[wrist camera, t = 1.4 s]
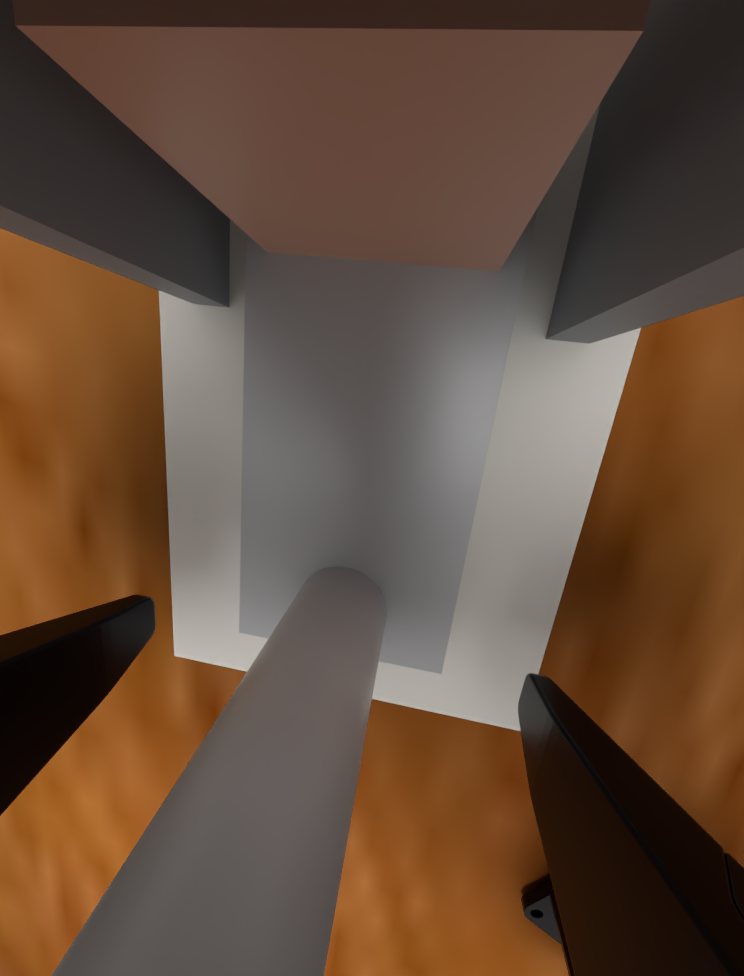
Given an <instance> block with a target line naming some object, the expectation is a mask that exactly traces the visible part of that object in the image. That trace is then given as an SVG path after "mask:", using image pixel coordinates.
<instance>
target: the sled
mask: <svg viewBox="0 0 744 976" xmlns="http://www.w3.org/2000/svg"><path fill="white" fill-rule="evenodd" d="M650 2H651V0H12V3H13V11H14V20H15V26H16V27H17V28H18V29H20V30H21V31H22V32H23V33H24V34H25V35H26V36H27V37H28V38H30V39H31V40H32V41H33V42H34V43H35V44H36V45H37V46H38V47H40V48H41V49H42V50H43V51H44V52H45V53H46V54H47V55H48V56H50V57H51V58H52V59H53V60H54V61H55V62H56V63H57V64H58V65H60V66H61V67H62V68H63V69H64V70H65V71H66V72H67V73H68V74H70V75H71V76H72V77H73V78H74V79H75V80H76V81H77V82H78V83H80V84H81V85H82V86H83V87H84V88H85V89H86V90H87V91H88V92H90V93H91V94H92V95H93V96H94V97H95V98H96V99H97V100H98V101H100V102H101V103H102V104H103V105H104V106H105V107H106V108H107V109H108V110H110V111H111V112H112V113H113V114H114V115H115V116H116V117H117V118H118V119H120V120H121V121H122V122H123V123H124V124H125V125H126V126H127V127H128V128H129V129H131V130H132V131H133V132H134V133H135V134H136V135H137V136H138V137H139V138H141V139H142V140H143V141H144V142H145V143H146V144H147V145H148V146H149V147H151V148H152V149H153V150H154V151H155V152H156V153H157V154H158V155H159V156H161V157H162V158H163V159H164V160H165V161H166V162H167V163H168V164H169V165H171V166H172V167H173V168H174V169H175V170H176V171H177V172H178V173H179V174H181V175H182V176H183V177H184V178H185V179H186V180H187V181H188V182H189V183H191V184H192V185H193V186H194V187H195V188H196V189H197V190H198V191H199V192H201V193H202V194H203V195H204V196H205V197H206V198H207V199H208V200H209V201H211V202H212V203H213V204H214V205H215V206H216V207H217V208H218V209H219V210H221V211H222V212H223V213H224V214H225V215H226V216H227V217H228V218H229V219H231V220H232V221H233V222H234V223H235V224H236V225H237V226H238V227H239V228H240V229H242V230H243V231H244V232H245V233H246V262H245V320H244V378H243V437H242V495H241V554H240V612H239V633H244V634H249V635H253V636H258V637H263V638H268V640H267V642H266V643H265V645H264V646H263V648H262V649H261V651H260V653H259V654H258V656H257V657H256V659H255V660H254V662H253V663H252V665H251V667H250V668H249V670H248V671H247V673H246V674H245V676H244V677H243V679H242V681H241V682H240V684H239V685H238V687H237V688H236V690H235V691H234V693H233V695H232V696H231V698H230V699H229V701H228V702H227V704H226V705H225V707H224V709H223V710H222V712H221V713H220V715H219V716H218V718H217V719H216V721H215V723H214V724H213V726H212V727H211V729H210V730H209V732H208V733H207V735H206V737H205V738H204V740H203V741H202V743H201V744H200V746H199V747H198V749H197V751H196V752H195V754H194V755H193V757H192V758H191V760H190V761H189V763H188V765H187V766H186V768H185V769H184V771H183V772H182V774H181V775H180V777H179V779H178V780H177V782H176V783H175V785H174V786H173V788H172V789H171V791H170V793H169V794H168V796H167V797H166V799H165V800H164V802H163V803H162V805H161V807H160V808H159V810H158V811H157V813H156V814H155V816H154V817H153V819H152V821H151V822H150V824H149V825H148V827H147V828H146V830H145V831H144V833H143V835H142V836H141V838H140V839H139V841H138V842H137V844H136V845H135V847H134V849H133V850H132V852H131V853H130V855H129V856H128V858H127V859H126V861H125V863H124V864H123V866H122V867H121V869H120V870H119V872H118V873H117V875H116V877H115V878H114V880H113V881H112V883H111V884H110V886H109V887H108V889H107V891H106V892H105V894H104V895H103V897H102V898H101V900H100V901H99V903H98V905H97V906H96V908H95V909H94V911H93V912H92V914H91V915H90V917H89V919H88V920H87V922H86V923H85V925H84V926H83V928H82V929H81V931H80V933H79V934H78V936H77V937H76V939H75V940H74V942H73V943H72V945H71V947H70V948H69V950H68V951H67V953H66V954H65V956H64V957H63V959H62V961H61V962H60V964H59V965H58V967H57V968H56V970H55V971H54V973H53V975H52V976H324V971H325V965H326V959H327V953H328V948H329V942H330V936H331V931H332V925H333V919H334V913H335V908H336V902H337V896H338V890H339V885H340V879H341V873H342V868H343V862H344V856H345V850H346V845H347V839H348V833H349V828H350V822H351V816H352V810H353V805H354V799H355V793H356V788H357V782H358V776H359V770H360V765H361V759H362V753H363V748H364V742H365V736H366V730H367V725H368V719H369V713H370V708H371V702H372V696H373V690H374V685H375V679H376V673H377V667H378V662H379V661H380V662H385V663H390V664H395V665H399V666H404V667H409V668H414V669H419V670H424V671H429V672H434V673H438V674H442V669H443V665H444V660H445V655H446V650H447V645H448V640H449V636H450V631H451V626H452V621H453V616H454V611H455V607H456V602H457V597H458V592H459V587H460V582H461V578H462V573H463V568H464V563H465V558H466V553H467V549H468V544H469V539H470V534H471V529H472V524H473V519H474V515H475V510H476V505H477V500H478V495H479V490H480V486H481V481H482V476H483V471H484V466H485V461H486V457H487V452H488V447H489V442H490V437H491V432H492V428H493V423H494V418H495V413H496V408H497V403H498V399H499V394H500V389H501V384H502V379H503V374H504V370H505V365H506V360H507V355H508V350H509V345H510V341H511V336H512V331H513V326H514V321H515V316H516V312H517V307H518V302H519V297H520V292H521V287H522V282H523V278H524V273H525V268H526V263H527V258H528V253H529V249H530V244H531V239H532V234H533V229H534V224H535V220H536V215H537V210H538V206H539V204H540V203H541V201H542V199H543V197H544V196H545V194H546V192H547V191H548V189H549V187H550V186H551V184H552V182H553V181H554V179H555V177H556V176H557V174H558V172H559V171H560V169H561V167H562V166H563V164H564V162H565V161H566V159H567V157H568V156H569V154H570V152H571V151H572V149H573V147H574V146H575V144H576V142H577V141H578V139H579V137H580V136H581V134H582V132H583V131H584V129H585V127H586V126H587V124H588V122H589V121H590V119H591V117H592V116H593V114H594V112H595V111H596V109H597V107H598V106H599V104H600V102H601V101H602V99H603V97H604V96H605V94H606V92H607V91H608V89H609V87H610V86H611V84H612V82H613V81H614V79H615V77H616V76H617V74H618V72H619V71H620V69H621V67H622V66H623V64H624V62H625V61H626V59H627V57H628V56H629V54H630V52H631V51H632V49H633V47H634V46H635V44H636V42H637V41H638V39H639V37H640V36H641V34H642V32H643V30H644V26H645V22H646V18H647V14H648V10H649V6H650Z"/></svg>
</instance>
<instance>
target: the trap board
mask: <svg viewBox="0 0 744 976" xmlns="http://www.w3.org/2000/svg"><path fill="white" fill-rule="evenodd" d="M599 106H600V104H599ZM599 106H598V107H597V109H596V111H595V112H594V114H593V116H592V117H591V119H590V121H589V122H588V124H587V126H586V127H585V129H584V131H583V132H582V134H581V136H580V137H579V139H578V141H577V142H576V144H575V146H574V147H573V149H572V151H571V152H570V154H569V156H568V157H567V159H566V161H565V162H564V164H563V166H562V167H561V169H560V171H559V172H558V174H557V176H556V177H555V179H554V181H553V182H552V184H551V186H550V187H549V189H548V191H547V192H546V194H545V196H544V197H543V199H542V201H541V203H540V204H539V206H538V210H537V215H536V220H535V224H534V229H533V234H532V239H531V244H530V249H529V253H528V258H527V263H526V268H525V273H524V278H523V282H522V287H521V292H520V297H519V302H518V307H517V312H516V316H515V321H514V326H513V331H512V336H511V341H510V345H509V350H508V355H507V360H506V365H505V370H504V374H503V379H502V384H501V389H500V394H499V399H498V403H497V408H496V413H495V418H494V423H493V428H492V432H491V437H490V442H489V447H488V452H487V457H486V461H485V466H484V471H483V476H482V481H481V486H480V490H479V495H478V500H477V505H476V510H475V515H474V519H473V524H472V529H471V534H470V539H469V544H468V549H467V553H466V558H465V563H464V568H463V573H462V578H461V582H460V587H459V592H458V597H457V602H456V607H455V611H454V616H453V621H452V626H451V631H450V636H449V640H448V645H447V650H446V655H445V660H444V665H443V669H442V674H438V673H434V672H429V671H424V670H419V669H414V668H409V667H404V666H399V665H395V664H390V663H385V662H380V661H379V662H378V667H377V673H376V679H375V685H374V690H373V696H372V699H375V700H380V701H384V702H389V703H393V704H398V705H402V706H407V707H412V708H416V709H421V710H425V711H430V712H435V713H439V714H444V715H448V716H453V717H458V718H462V719H467V720H471V721H476V722H481V723H485V724H490V725H494V726H499V727H504V728H508V729H513V730H517V731H521V730H520V723H519V716H518V702H519V698H520V695H521V691H522V688H523V684H524V681H525V677H526V676H527V674H529V673H534V674H538V673H539V670H540V667H541V663H542V660H543V657H544V653H545V650H546V646H547V643H548V640H549V636H550V633H551V630H552V626H553V623H554V619H555V616H556V613H557V609H558V606H559V603H560V599H561V596H562V593H563V589H564V586H565V582H566V579H567V576H568V572H569V569H570V566H571V562H572V559H573V556H574V552H575V549H576V545H577V542H578V539H579V535H580V532H581V529H582V525H583V522H584V518H585V515H586V512H587V508H588V505H589V502H590V498H591V495H592V492H593V488H594V485H595V481H596V478H597V475H598V471H599V468H600V465H601V461H602V458H603V455H604V451H605V448H606V444H607V441H608V438H609V434H610V431H611V428H612V424H613V421H614V418H615V414H616V411H617V407H618V404H619V401H620V397H621V394H622V391H623V387H624V384H625V380H626V377H627V374H628V370H629V367H630V364H631V360H632V357H633V354H634V350H635V347H636V343H637V340H638V337H639V333H640V330H641V328H638V329H635V330H632V331H629V332H625V333H622V334H619V335H616V336H613V337H609V338H606V339H603V340H600V341H597V342H593V343H590V344H588V343H578V342H568V341H558V340H548V339H546V335H547V331H548V326H549V322H550V318H551V314H552V309H553V305H554V301H555V296H556V292H557V288H558V283H559V279H560V275H561V270H562V266H563V262H564V257H565V253H566V249H567V244H568V240H569V236H570V231H571V227H572V223H573V218H574V214H575V210H576V206H577V201H578V197H579V193H580V188H581V184H582V180H583V175H584V171H585V167H586V162H587V158H588V154H589V149H590V145H591V141H592V136H593V132H594V128H595V123H596V119H597V115H598V110H599ZM245 262H246V233H245V232H244V231H243V230H242V229H240V228H239V227H238V226H237V225H236V224H235V223H234V222H233V221H232V220H231V219H230V276H229V307H219V306H209V305H199V304H193V303H190V302H187V301H185V300H182V299H180V298H177V297H175V296H172V295H170V294H167V293H165V292H162V291H159V306H160V330H161V353H162V377H163V401H164V425H165V448H166V472H167V496H168V520H169V543H170V567H171V591H172V615H173V638H174V656H177V657H182V658H187V659H191V660H196V661H200V662H205V663H210V664H214V665H219V666H223V667H228V668H232V669H237V670H242V671H246V672H247V671H248V670H249V668H250V667H251V665H252V663H253V662H254V660H255V659H256V657H257V656H258V654H259V653H260V651H261V649H262V648H263V646H264V645H265V643H266V642H267V640H268V638H263V637H258V636H253V635H249V634H244V633H239V612H240V554H241V495H242V437H243V378H244V320H245Z"/></svg>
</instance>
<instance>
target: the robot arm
mask: <svg viewBox="0 0 744 976" xmlns="http://www.w3.org/2000/svg"><path fill="white" fill-rule="evenodd" d="M155 626H156V623H155V605H154V601H153V599H152V598H151V597H147V596H142V595H132V596H129V597H126V598H122V599H119V600H116V601H112V602H109V603H106V604H102V605H99V606H96V607H93V608H89V609H86V610H83V611H79V612H76V613H73V614H69V615H66V616H63V617H60V618H56V619H53V620H50V621H46V622H43V623H40V624H36V625H33V626H30V627H27V628H23V629H20V630H17V631H13V632H10V633H7V634H4V635H0V816H1V814H2V813H3V812H4V811H5V810H6V809H7V808H8V807H9V805H10V804H11V803H12V802H13V801H14V800H15V799H16V798H17V796H18V795H19V794H20V793H21V792H22V791H23V790H24V789H25V787H26V786H27V785H28V784H29V783H30V782H31V781H32V780H33V778H34V777H35V776H36V775H37V774H38V773H39V772H40V771H41V769H42V768H43V767H44V766H45V765H46V764H47V763H48V762H49V760H50V759H51V758H52V757H53V756H54V755H55V754H56V753H57V751H58V750H59V749H60V748H61V747H62V746H63V745H64V743H65V742H66V741H67V740H68V739H69V738H70V737H71V736H72V734H73V733H74V732H75V731H76V730H77V729H78V728H79V727H80V725H81V724H82V723H83V722H84V721H85V720H86V719H87V718H88V716H89V715H90V714H91V713H92V712H93V711H94V710H95V709H96V707H97V706H98V705H99V704H100V703H101V702H102V701H103V699H104V698H105V697H106V696H107V695H108V693H109V692H110V691H111V690H112V688H113V687H114V686H115V685H116V683H117V682H118V681H119V679H120V678H121V677H122V675H123V674H124V673H125V671H126V670H127V669H128V667H129V666H130V665H131V663H132V662H133V661H134V659H135V658H136V657H137V655H138V654H139V653H140V651H141V650H142V649H143V647H144V646H145V645H146V643H147V642H148V641H149V639H150V638H151V637H152V635H153V633H154V631H155ZM518 716H519V723H520V730H521V737H522V743H523V750H524V757H525V764H526V770H527V777H528V783H529V789H530V795H531V799H532V804H533V808H534V812H535V816H536V820H537V824H538V828H539V832H540V836H541V840H542V844H543V849H544V853H545V857H546V861H547V865H548V869H549V873H550V877H551V880H549V881H547V882H545V883H544V884H542V885H540V886H538V887H536V888H534V889H533V890H531V891H529V892H527V893H525V894H524V895H523V896H522V898H521V900H522V905H523V911H524V914H525V916H526V917H527V918H528V919H529V920H530V921H531V922H533V923H534V924H535V925H537V926H538V927H539V928H541V929H542V930H543V931H545V932H546V933H547V934H548V935H550V936H551V937H552V938H554V939H555V940H556V941H558V942H559V943H560V944H561V945H562V949H563V953H564V957H565V961H566V965H567V969H568V973H569V976H744V868H743V867H742V866H741V865H740V864H739V863H738V862H737V861H736V860H735V859H734V858H733V857H732V856H731V855H730V854H728V853H724V850H723V848H722V847H721V846H720V845H719V844H718V843H717V842H716V841H715V840H714V839H713V838H712V837H711V836H710V835H709V834H708V833H707V832H706V831H705V830H704V829H703V828H702V827H701V826H700V825H699V824H698V823H697V822H696V821H695V820H694V819H693V818H692V817H691V816H690V815H689V814H688V813H687V812H686V811H685V810H684V809H683V808H682V807H681V806H680V805H679V804H678V803H677V802H676V801H675V800H674V799H673V798H671V797H670V796H669V795H668V794H667V793H666V792H665V791H664V790H663V789H662V788H661V787H660V786H659V785H658V784H657V783H656V782H655V781H654V780H653V779H652V778H651V777H650V776H649V775H648V774H647V773H646V772H645V771H644V770H643V769H642V768H641V767H640V766H639V765H638V764H637V763H636V762H635V761H634V760H633V759H632V758H631V757H630V756H629V755H628V754H627V753H626V752H625V751H624V750H623V749H622V748H620V747H619V746H618V745H617V744H616V743H615V742H614V741H613V740H612V739H611V738H610V737H609V736H608V735H607V734H606V733H605V732H604V731H603V730H602V729H601V728H600V727H599V726H598V725H597V724H596V723H595V722H594V721H593V720H592V719H591V718H590V717H589V716H588V715H587V714H586V713H585V712H584V711H583V710H582V709H581V708H580V707H579V706H578V705H577V704H576V703H575V702H574V701H573V700H572V699H570V698H569V697H568V696H567V695H566V694H565V693H564V692H563V691H562V690H561V689H560V688H559V687H558V686H557V685H556V684H555V683H554V682H553V681H552V680H551V679H550V678H549V677H547V676H544V675H539V674H534V673H529V674H527V676H526V677H525V681H524V684H523V688H522V691H521V695H520V698H519V702H518Z"/></svg>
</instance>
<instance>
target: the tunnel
mask: <svg viewBox="0 0 744 976" xmlns="http://www.w3.org/2000/svg"><path fill="white" fill-rule="evenodd" d="M0 228H2V229H4V230H7V231H9V232H12V233H14V234H17V235H19V236H22V237H24V238H27V239H30V240H32V241H35V242H37V243H40V244H42V245H45V246H47V247H50V248H53V249H55V250H58V251H60V252H63V253H65V254H68V255H70V256H73V257H75V258H78V259H81V260H83V261H86V262H88V263H91V264H93V265H96V266H98V267H101V268H103V269H106V270H109V271H111V272H114V273H116V274H119V275H121V276H124V277H126V278H129V279H131V280H134V281H137V282H139V283H142V284H144V285H147V286H149V287H152V288H154V289H157V290H159V291H162V292H165V293H167V294H170V295H172V296H175V297H177V298H180V299H182V300H185V301H187V302H190V303H193V304H199V305H209V306H219V307H229V276H230V219H229V218H228V217H227V216H226V215H225V214H224V213H223V212H222V211H221V210H219V209H218V208H217V207H216V206H215V205H214V204H213V203H212V202H211V201H209V200H208V199H207V198H206V197H205V196H204V195H203V194H202V193H201V192H199V191H198V190H197V189H196V188H195V187H194V186H193V185H192V184H191V183H189V182H188V181H187V180H186V179H185V178H184V177H183V176H182V175H181V174H179V173H178V172H177V171H176V170H175V169H174V168H173V167H172V166H171V165H169V164H168V163H167V162H166V161H165V160H164V159H163V158H162V157H161V156H159V155H158V154H157V153H156V152H155V151H154V150H153V149H152V148H151V147H149V146H148V145H147V144H146V143H145V142H144V141H143V140H142V139H141V138H139V137H138V136H137V135H136V134H135V133H134V132H133V131H132V130H131V129H129V128H128V127H127V126H126V125H125V124H124V123H123V122H122V121H121V120H120V119H118V118H117V117H116V116H115V115H114V114H113V113H112V112H111V111H110V110H108V109H107V108H106V107H105V106H104V105H103V104H102V103H101V102H100V101H98V100H97V99H96V98H95V97H94V96H93V95H92V94H91V93H90V92H88V91H87V90H86V89H85V88H84V87H83V86H82V85H81V84H80V83H78V82H77V81H76V80H75V79H74V78H73V77H72V76H71V75H70V74H68V73H67V72H66V71H65V70H64V69H63V68H62V67H61V66H60V65H58V64H57V63H56V62H55V61H54V60H53V59H52V58H51V57H50V56H48V55H47V54H46V53H45V52H44V51H43V50H42V49H41V48H40V47H38V46H37V45H36V44H35V43H34V42H33V41H32V40H31V39H30V38H28V37H27V36H26V35H25V34H24V33H23V32H22V31H21V30H20V29H18V28H17V27H16V26H15V20H14V11H13V3H12V0H0ZM741 296H744V0H651V2H650V6H649V10H648V14H647V18H646V22H645V26H644V30H643V32H642V34H641V36H640V37H639V39H638V41H637V42H636V44H635V46H634V47H633V49H632V51H631V52H630V54H629V56H628V57H627V59H626V61H625V62H624V64H623V66H622V67H621V69H620V71H619V72H618V74H617V76H616V77H615V79H614V81H613V82H612V84H611V86H610V87H609V89H608V91H607V92H606V94H605V96H604V97H603V99H602V101H601V102H600V106H599V110H598V115H597V119H596V123H595V128H594V132H593V136H592V141H591V145H590V149H589V154H588V158H587V162H586V167H585V171H584V175H583V180H582V184H581V188H580V193H579V197H578V201H577V206H576V210H575V214H574V218H573V223H572V227H571V231H570V236H569V240H568V244H567V249H566V253H565V257H564V262H563V266H562V270H561V275H560V279H559V283H558V288H557V292H556V296H555V301H554V305H553V309H552V314H551V318H550V322H549V326H548V331H547V335H546V339H548V340H558V341H568V342H578V343H588V344H590V343H593V342H597V341H600V340H603V339H606V338H609V337H613V336H616V335H619V334H622V333H625V332H629V331H632V330H635V329H638V328H642V327H645V326H648V325H651V324H654V323H658V322H661V321H664V320H667V319H670V318H674V317H677V316H680V315H683V314H687V313H690V312H693V311H696V310H699V309H703V308H706V307H709V306H712V305H715V304H719V303H722V302H725V301H728V300H731V299H735V298H738V297H741Z"/></svg>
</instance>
